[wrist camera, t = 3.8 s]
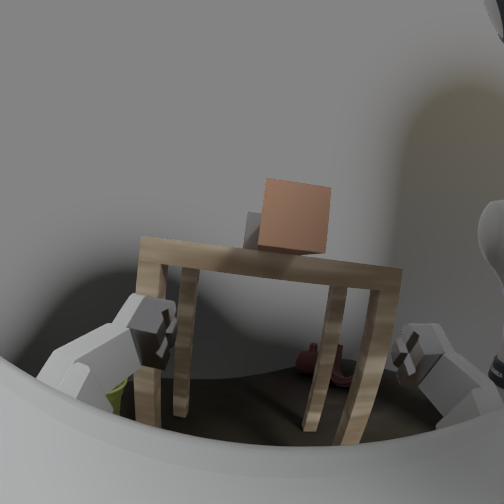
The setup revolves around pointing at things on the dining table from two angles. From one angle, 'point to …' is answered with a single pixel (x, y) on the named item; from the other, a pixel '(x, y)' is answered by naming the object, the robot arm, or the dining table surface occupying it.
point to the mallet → (290, 219)
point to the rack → (282, 268)
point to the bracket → (308, 363)
